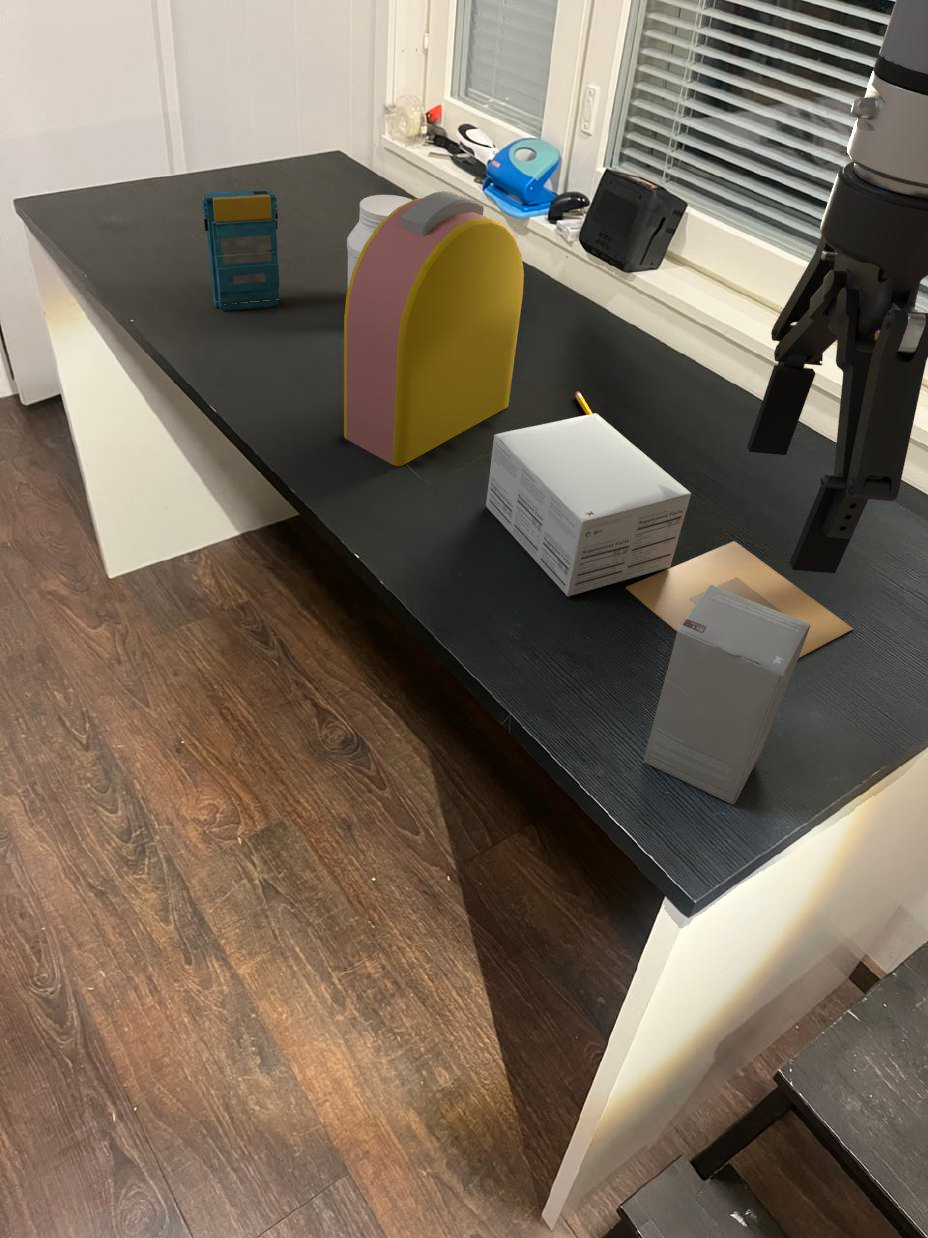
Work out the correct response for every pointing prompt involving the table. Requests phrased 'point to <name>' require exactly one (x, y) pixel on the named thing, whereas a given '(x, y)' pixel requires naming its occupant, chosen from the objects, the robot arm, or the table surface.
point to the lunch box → (430, 327)
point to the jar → (370, 223)
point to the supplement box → (585, 502)
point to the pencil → (583, 403)
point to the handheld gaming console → (242, 248)
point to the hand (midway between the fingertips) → (787, 505)
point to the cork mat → (735, 592)
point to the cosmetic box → (723, 691)
